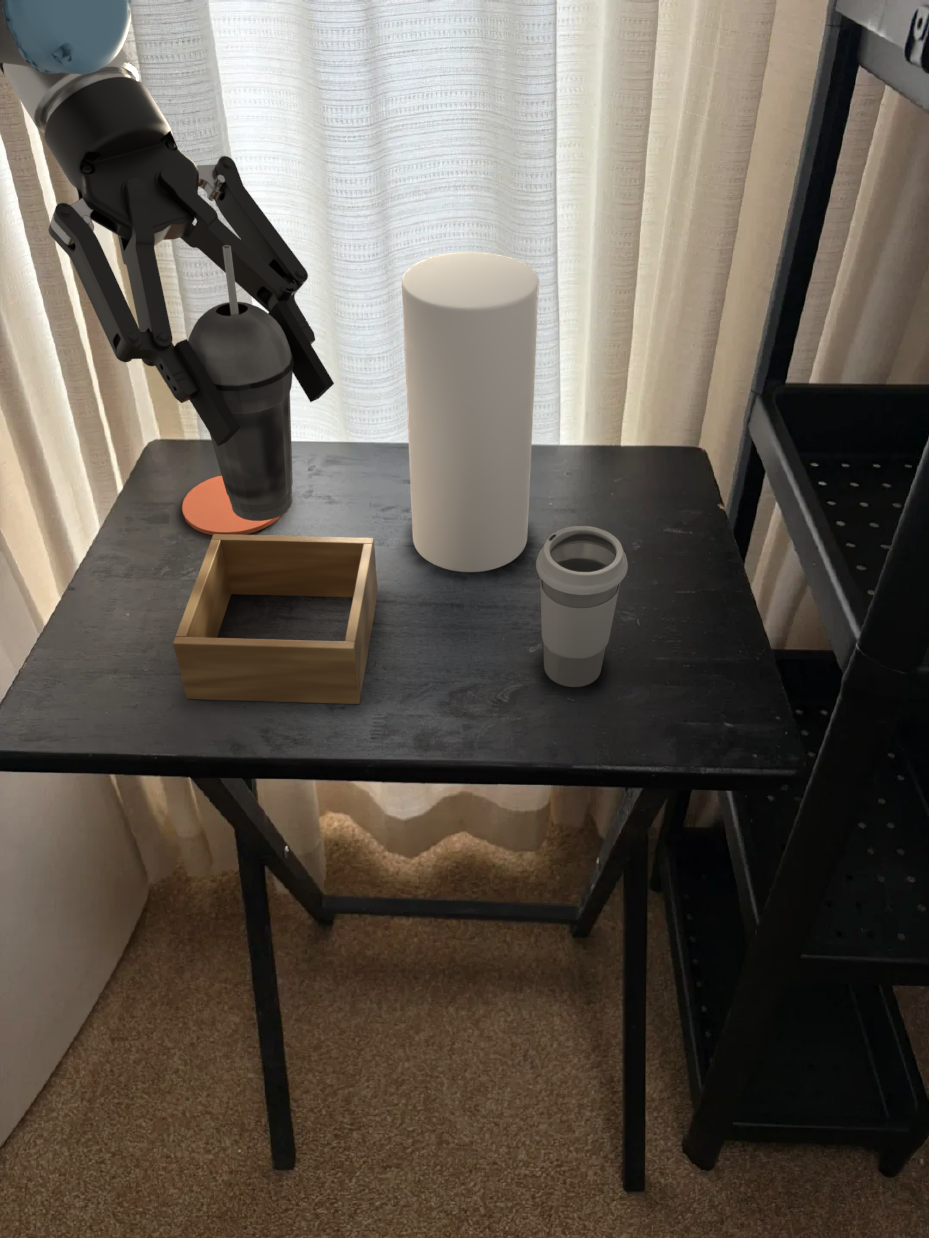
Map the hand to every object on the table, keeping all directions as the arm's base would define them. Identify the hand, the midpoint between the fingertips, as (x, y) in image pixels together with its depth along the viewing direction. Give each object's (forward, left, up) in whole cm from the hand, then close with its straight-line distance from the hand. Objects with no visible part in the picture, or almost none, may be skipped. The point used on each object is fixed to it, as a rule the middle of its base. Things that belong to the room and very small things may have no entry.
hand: (276, 414), depth 71 cm
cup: (+14, -17, -23) cm, 31 cm away
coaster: (+9, +21, -23) cm, 32 cm away
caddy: (0, +2, -23) cm, 23 cm away
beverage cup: (0, +3, -9) cm, 10 cm away
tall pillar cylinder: (+21, +1, -23) cm, 31 cm away
